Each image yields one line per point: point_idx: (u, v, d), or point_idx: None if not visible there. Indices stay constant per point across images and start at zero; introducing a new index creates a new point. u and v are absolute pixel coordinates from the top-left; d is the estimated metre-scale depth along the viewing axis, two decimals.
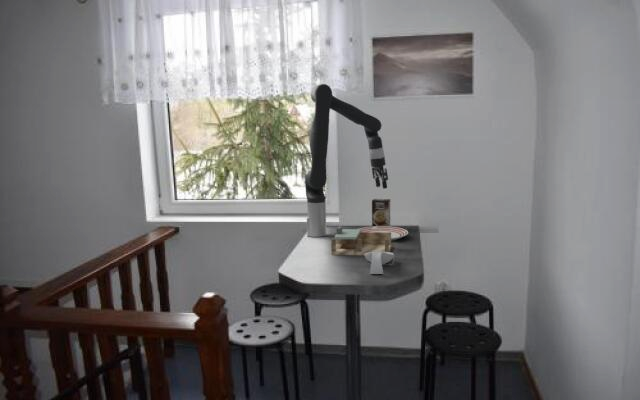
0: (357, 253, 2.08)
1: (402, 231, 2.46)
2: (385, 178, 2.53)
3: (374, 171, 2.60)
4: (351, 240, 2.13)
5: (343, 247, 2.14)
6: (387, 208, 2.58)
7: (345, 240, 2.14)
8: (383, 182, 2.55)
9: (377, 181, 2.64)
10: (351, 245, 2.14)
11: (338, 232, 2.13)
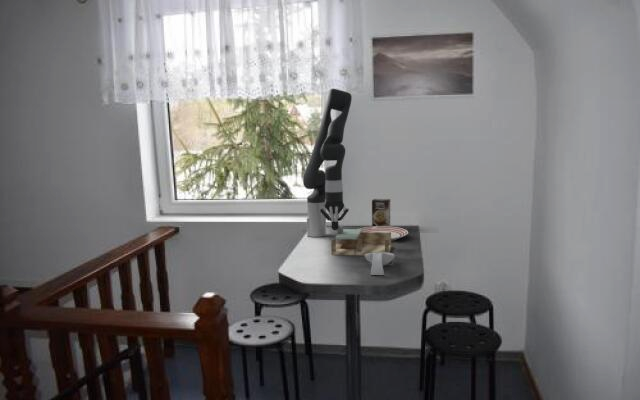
0: (357, 253, 2.08)
1: (402, 231, 2.46)
2: None
3: None
4: (351, 240, 2.13)
5: (343, 247, 2.14)
6: (387, 208, 2.58)
7: (345, 240, 2.14)
8: None
9: None
10: (351, 245, 2.14)
11: (339, 232, 2.13)
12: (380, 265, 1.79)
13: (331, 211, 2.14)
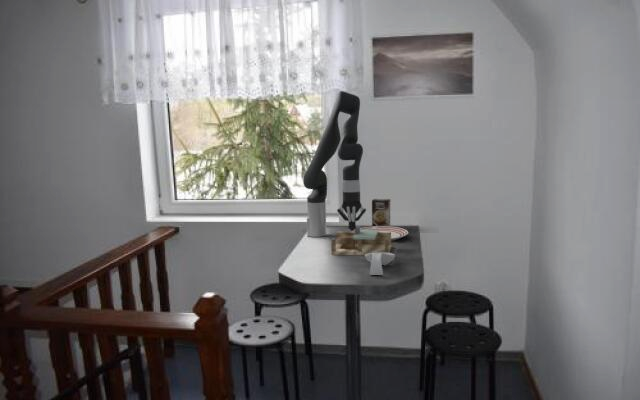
0: (357, 253, 2.08)
1: (402, 231, 2.46)
2: None
3: None
4: (351, 240, 2.13)
5: (343, 247, 2.14)
6: (387, 208, 2.58)
7: (345, 240, 2.14)
8: None
9: None
10: (351, 245, 2.14)
11: (356, 232, 2.12)
12: (379, 265, 1.79)
13: (348, 211, 2.12)
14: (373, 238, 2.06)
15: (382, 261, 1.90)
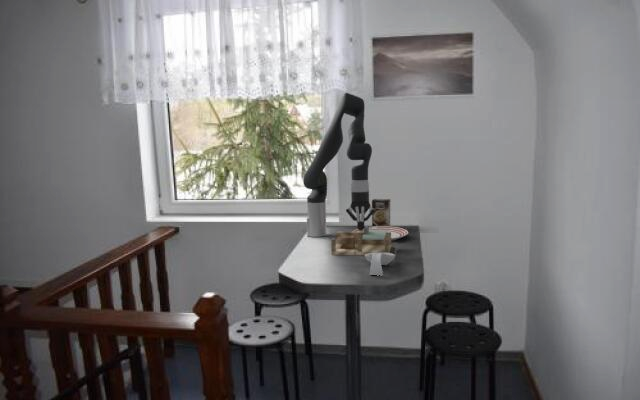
0: (357, 253, 2.08)
1: (402, 231, 2.46)
2: None
3: None
4: (351, 240, 2.13)
5: (343, 247, 2.14)
6: (387, 208, 2.58)
7: (345, 240, 2.14)
8: None
9: None
10: (351, 245, 2.14)
11: (365, 232, 2.11)
12: (379, 265, 1.79)
13: (357, 211, 2.12)
14: (382, 238, 2.05)
15: (382, 261, 1.90)
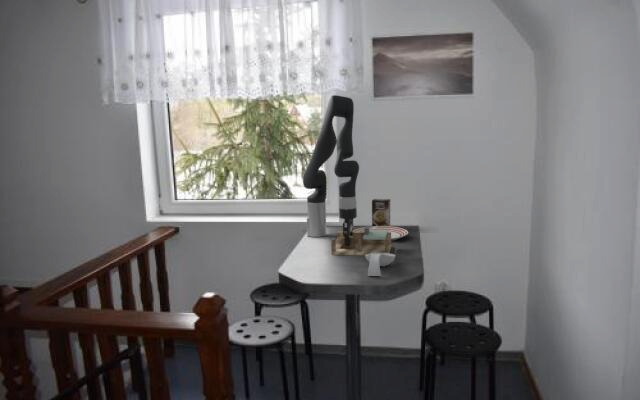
0: (357, 253, 2.08)
1: (402, 231, 2.46)
2: (345, 234, 2.09)
3: None
4: (351, 240, 2.13)
5: (343, 247, 2.14)
6: (387, 208, 2.58)
7: None
8: (345, 238, 2.11)
9: None
10: (351, 245, 2.14)
11: (366, 232, 2.11)
12: (377, 266, 1.78)
13: (351, 227, 2.13)
14: (383, 238, 2.05)
15: (382, 262, 1.89)
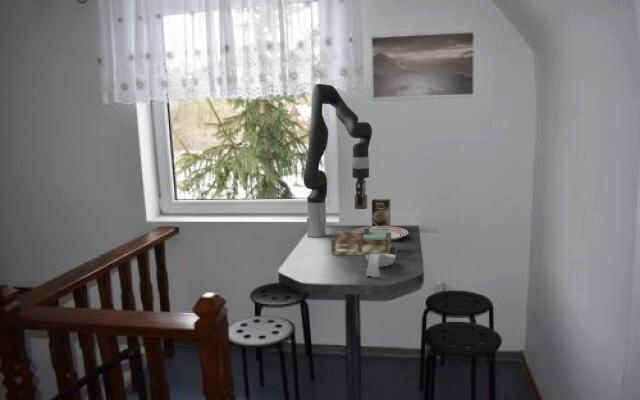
0: (357, 253, 2.08)
1: (402, 231, 2.46)
2: (358, 194, 2.20)
3: None
4: (364, 198, 2.22)
5: (356, 205, 2.24)
6: (387, 208, 2.58)
7: None
8: (358, 198, 2.22)
9: None
10: (364, 203, 2.23)
11: (366, 232, 2.11)
12: (376, 266, 1.77)
13: (364, 187, 2.23)
14: (383, 238, 2.05)
15: (382, 262, 1.88)
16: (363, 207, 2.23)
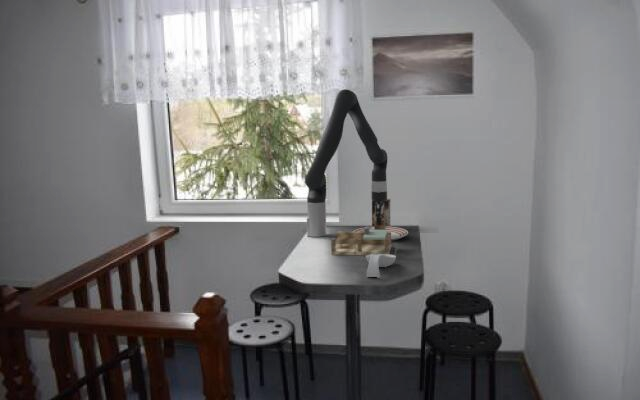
0: (357, 253, 2.08)
1: (402, 231, 2.46)
2: (378, 214, 2.35)
3: None
4: (383, 222, 2.40)
5: (375, 228, 2.41)
6: (387, 208, 2.58)
7: None
8: (377, 218, 2.38)
9: None
10: (383, 227, 2.40)
11: (366, 232, 2.11)
12: (376, 267, 1.76)
13: (382, 208, 2.39)
14: (383, 238, 2.05)
15: (382, 263, 1.87)
16: None
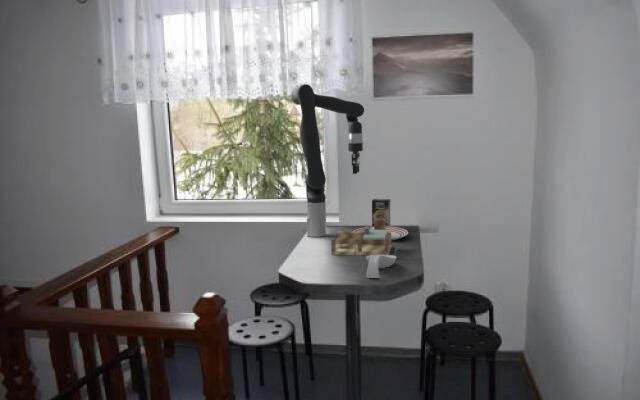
0: (357, 253, 2.08)
1: (402, 231, 2.46)
2: (353, 163, 2.55)
3: None
4: (383, 222, 2.40)
5: (375, 228, 2.41)
6: (387, 208, 2.58)
7: (377, 222, 2.40)
8: (353, 167, 2.58)
9: (356, 166, 2.66)
10: (383, 227, 2.40)
11: (366, 232, 2.11)
12: (376, 268, 1.75)
13: (358, 158, 2.59)
14: (383, 238, 2.05)
15: (382, 264, 1.86)
16: None
